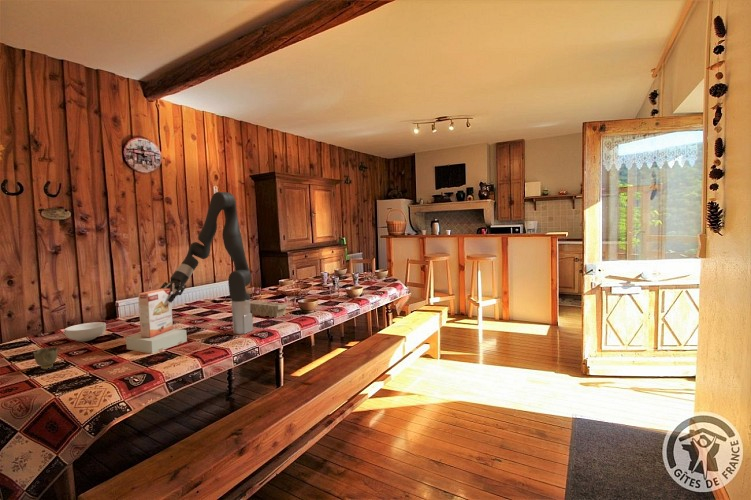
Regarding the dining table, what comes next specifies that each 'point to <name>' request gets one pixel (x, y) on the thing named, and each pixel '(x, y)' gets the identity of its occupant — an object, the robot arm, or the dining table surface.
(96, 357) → the dining table surface
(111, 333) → the dining table surface
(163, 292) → the cracker box
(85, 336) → the cereal bowl
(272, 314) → the block tower
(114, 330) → the dining table surface
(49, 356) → the cup
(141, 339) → the pale square block
